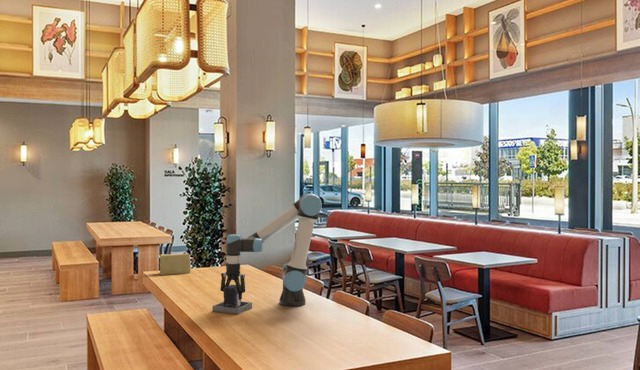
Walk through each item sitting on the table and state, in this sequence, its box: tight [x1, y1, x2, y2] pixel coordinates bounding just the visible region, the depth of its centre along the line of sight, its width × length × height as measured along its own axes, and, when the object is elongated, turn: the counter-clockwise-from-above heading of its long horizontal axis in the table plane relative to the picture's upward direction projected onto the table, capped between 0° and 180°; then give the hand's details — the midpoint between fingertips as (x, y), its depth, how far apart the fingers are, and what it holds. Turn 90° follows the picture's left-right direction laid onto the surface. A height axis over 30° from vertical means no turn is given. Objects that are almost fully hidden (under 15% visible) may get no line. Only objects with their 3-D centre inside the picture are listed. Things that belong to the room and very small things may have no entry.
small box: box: [223, 283, 238, 308], centre depth 284 cm, size 11×6×10 cm, turn 168°
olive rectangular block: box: [159, 253, 191, 276], centre depth 392 cm, size 22×10×15 cm, turn 109°
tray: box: [211, 300, 253, 315], centre depth 284 cm, size 16×16×3 cm
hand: (232, 304), depth 284 cm, fingers closed on small box, 7 cm apart
